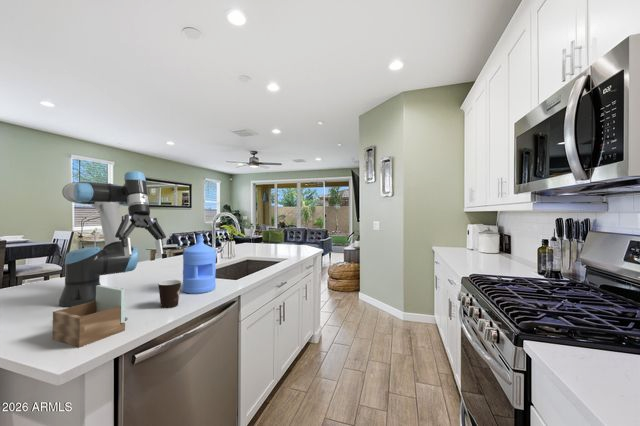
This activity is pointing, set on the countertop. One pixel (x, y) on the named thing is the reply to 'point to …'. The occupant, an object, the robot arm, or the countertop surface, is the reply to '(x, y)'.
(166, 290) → the coffee mug
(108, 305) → the cabinet door
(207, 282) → the water jug
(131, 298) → the countertop surface
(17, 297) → the countertop surface
